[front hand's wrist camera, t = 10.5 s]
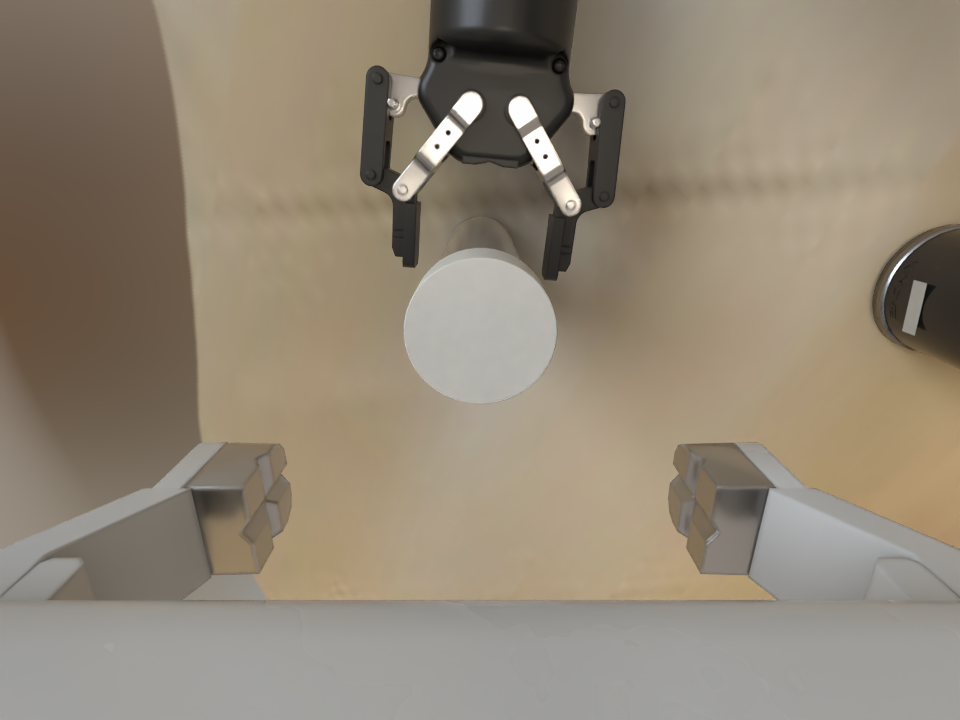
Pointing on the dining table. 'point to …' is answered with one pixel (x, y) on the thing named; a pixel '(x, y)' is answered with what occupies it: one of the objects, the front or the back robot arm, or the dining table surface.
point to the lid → (480, 326)
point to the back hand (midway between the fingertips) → (480, 271)
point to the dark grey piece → (480, 237)
